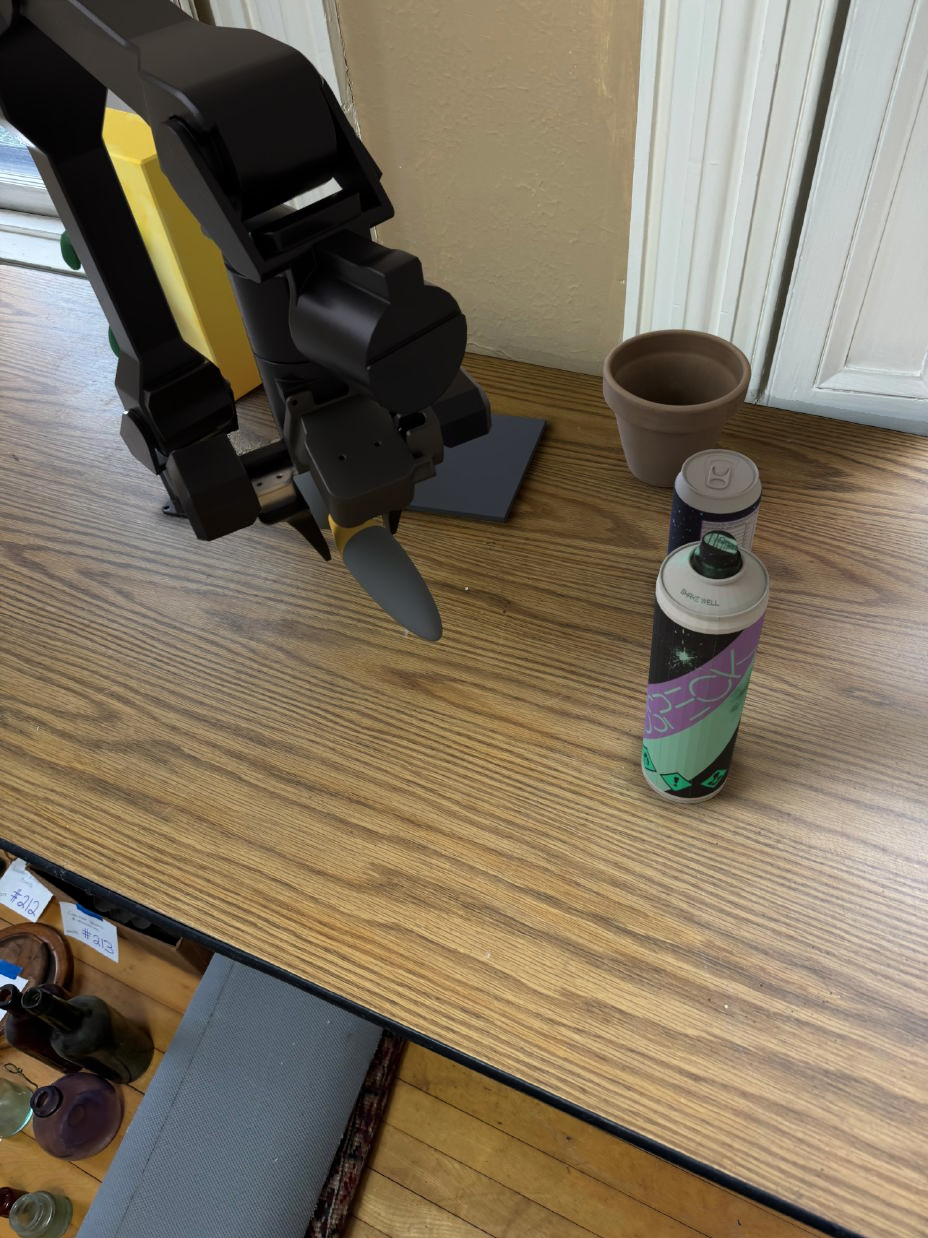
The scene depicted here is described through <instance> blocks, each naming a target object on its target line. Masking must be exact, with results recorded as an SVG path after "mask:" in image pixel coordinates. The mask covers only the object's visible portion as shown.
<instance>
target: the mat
mask: <svg viewBox="0 0 928 1238" xmlns="http://www.w3.org/2000/svg"><path fill="white" fill-rule="evenodd" d="M491 418H492V427H491V429H490V431H489V433H488V434H486V435H484V436H481V437H479V438H476V439H473V440H471V441H468V442H466V443H463V444H461V445H458V446H455V447H453V448H448V447H446V446H444V460H443V462H442V463H441V464H438V465H436V466H435V469H436V474H437V475H436V476H435V477H433V478H430V479H427V480H425V481H422V482H420V483H417V484H415V491H414V499H413V501H412V502H411V503H410V504H409V505H408V506H407V507H405V508H403V509H404V510H410V511H418V512H425V513H431V514H439V515H444V516H445V515H446V516H453V517H460V518H467V519H474V520H481V521H487V522H488V521H489V522H495V523H503V524H505V523H506V521H507V519H508V516H509V515H510V512H511V509H512V507H513V504H514V502H515V500H516V497H517V495H518V493H519V490H520V488H521V486H522V484H523V481H524V479H525V476H526V474H527V472H528V469H529V467H530V465H531V463H532V461H533V458H534V456H535V453H536V451H537V448H538V446H539V444H540V441H541V438H542V437H543V434H544V432H545V429H546V427H547V423H548V422H547V419H544V418H537V417H535V418H534V417H525V416H516V415H506V414H498V413H497V414H496V413H495V414H494V413H491Z"/></svg>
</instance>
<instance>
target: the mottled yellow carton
mask: <svg viewBox="0 0 928 1238" xmlns="http://www.w3.org/2000/svg"><path fill="white" fill-rule="evenodd" d="M103 139H104V142H105V145H106V147H107V150H108V152H109V155H110V157H111V160H112V162H113V165H114V168H115V170H116V173H117V175H118V178H119V180H120V183H121V185H122V188H123V190H124V193H125V195H126V198H127V200H128V203H129V205H130V208H131V210H132V213H133V215H134V218H135V220H136V223H137V225H138V228H139V230H140V233H141V235H142V238H143V240H144V243H145V245H146V248H147V250H148V253H149V255H150V258H151V260H152V263H153V265H154V268H155V270H156V273H157V275H158V278H159V281H160V283H161V286H162V288H163V291H164V293H165V296H166V298H167V301H168V303H169V306H170V308H171V311H172V313H173V316H174V318H175V321H176V323H177V326H178V328H179V331H180V333H181V335H182V338H183V340H184V341H185V342H187V343H188V344H189V345H191V346H192V347H193V348H195V349H196V350H197V351H199V352H200V353H201V354H203V355H204V356H205V357H207V358H208V359H209V360H211V361H212V362H213V363H214V364H215V365H216V366H217V367H218V368H219V369H220V371H221V374H222V376H223V377H224V378H225V379H228V380H229V381H230V383H231V389H232V390H233V392H234V398H235V402H236V401H237V400H239V399H241V398H242V397H244V396H245V395H247V394H248V393H249V392H251V391H253V390H254V389H255V388H257V387H258V386H260V385H263V384H262V381H261V378H260V375H259V371H258V368H257V365H256V362H255V359H254V356H253V353H252V350H251V346H250V343H249V340H248V337H247V334H246V331H245V328H244V324H243V321H242V318H241V315H240V312H239V309H238V306H237V303H236V299H235V296H234V293H233V290H232V287H231V284H230V281H229V278H228V274H227V271H226V268H225V265H224V260H223V258H222V254H221V250H220V249H219V248H218V246H217V245H216V244H215V243H214V241H212V240H211V239H209V238H207V237H206V236H204V234H203V233H202V231H201V228H200V223H199V222H198V221H197V219H196V218H195V217H194V216H193V214H192V213H191V212H190V210H189V209H188V208H187V207H186V205H185V204H184V203H183V201H182V200H181V199H180V198H179V196H178V195H177V193H176V192H175V190H174V189H173V187H172V186H171V184H170V182H169V180H168V178H167V177H166V176H165V175H164V174H163V172H162V171H161V169H160V165H159V161H158V156H157V152H156V148H155V144H154V140H153V135H152V131H151V128H150V126H149V125H148V124H147V123H146V122H145V121H144V120H143V119H142V118H141V117H140V116H139V115H138V114H137V113H131V112H129V111H124V110H120V109H116V108H111V107H107V106H106V111H105V119H104V126H103ZM59 246H60V253H61V257H62V259H63V261H64V262H65V264H66V265H67V266H68V267H69V268H70V269H71V270H72V271H80V269H81V268H82V264H81V262H80V260H79V258H78V256H77V254H76V251H75V249H74V247H73V245H72V243H71V241H70V239H69V236H68V234H67V232H66V230H65V229H64V231H63V232H62V233H61V235H60V238H59ZM107 337H108V343H109V346H110V348H111V351H112V352H113V354H114V355H115V356H116V357H117V359H118V358H119V351H120V347H119V345H118V342H117V340H116V338H115V336H114V334H113V332H112V329H111V327H110V325H109V324H108V331H107Z"/></svg>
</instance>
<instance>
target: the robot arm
mask: <svg viewBox="0 0 928 1238" xmlns="http://www.w3.org/2000/svg"><path fill="white" fill-rule="evenodd" d="M109 91H110V92H111V93H112V94H113V95H115V96H116V97H117V98H118V99H119V100H120V101H122V102H123V103H124V104H125V105H126V106H127V107H128V108H130V109H131V110H132V111H133V112H134V113H135V114H136V115H139V116H140V117H141V118H142V119H143V120H144V121H145V122H146V123H147V124H148V125H149V126H150V128H151V131H152V135H153V140H154V144H155V148H156V152H157V156H158V161H159V165H160V169H161V171H162V172H163V174H164V175H165V176H166V177H167V178H168V180H169V182H170V184H171V186H172V187H173V189H174V190H175V192H176V193H177V195H178V196H179V198H180V199H181V200H182V201H183V203H184V204H185V205H186V207H187V208H188V209H189V210H190V212H191V213H192V214H193V216H194V217H195V218H196V219H197V221H198V222H199V223H200V228H201V231H202V233H203V234H204V236H206V237H207V238H209V239H211V240H212V241H214V243H215V244H216V245H217V246H218V248H219V249H220V250H221V254H222V258H223V260H224V265H225V268H226V271H227V274H228V278H229V281H230V284H231V287H232V290H233V293H234V296H235V299H236V303H237V306H238V309H239V312H240V315H241V318H242V321H243V324H244V328H245V331H246V334H247V337H248V340H249V343H250V346H251V350H252V353H253V356H254V359H255V362H256V365H257V368H258V371H259V375H260V378H261V381H262V384H261V385H262V387H263V390H264V393H265V396H266V399H267V402H268V406H269V409H270V412H271V414H272V418H273V422H274V424H275V427H276V431H277V433H278V434H277V435H278V438H275V439H272V441H270V443H269V444H266V445H263V446H260V447H257V448H255V449H253V450H250V451H246V452H244V453H242V454H238V453H237V451H236V449H235V446H234V445H233V443H232V441H231V439H230V437H229V435H230V434H232V433H235V432H237V431H239V430H240V426H239V418H238V410H237V405H236V401H235V398H234V392H233V390H232V389H231V383H230V381H229V380H228V379H225V378H224V377H223V376H222V374H221V371H220V369H219V368H218V367H217V366H216V365H215V364H214V363H213V362H212V361H211V360H209V359H208V358H207V357H205V356H204V355H203V354H201V353H200V352H199V351H197V350H196V349H195V348H193V347H192V346H191V345H189V344H188V343H187V342H185V341H184V340H183V338H182V335H181V333H180V331H179V328H178V326H177V323H176V321H175V318H174V316H173V313H172V311H171V308H170V306H169V303H168V301H167V298H166V296H165V293H164V291H163V288H162V286H161V283H160V281H159V278H158V275H157V273H156V270H155V268H154V265H153V263H152V260H151V258H150V255H149V253H148V250H147V248H146V245H145V243H144V240H143V238H142V235H141V233H140V230H139V228H138V225H137V223H136V220H135V218H134V215H133V213H132V210H131V208H130V205H129V203H128V200H127V198H126V195H125V193H124V190H123V188H122V185H121V183H120V180H119V178H118V175H117V173H116V170H115V168H114V165H113V162H112V160H111V157H110V155H109V152H108V150H107V147H106V145H105V142H104V139H103V126H104V119H105V111H106V107H107V103H108V97H109V96H108V94H109ZM0 126H1V127H2V128H3V129H5V131H7V132H8V133H9V134H10V135H12V136H13V137H15V139H17V141H19V142H20V143H22V144H23V145H24V146H25V147H26V148H27V150H28V152H29V154H30V157H31V158H32V161H33V163H34V165H35V167H36V169H37V171H38V174H39V175H40V178H41V180H42V182H43V184H44V186H45V189H46V191H47V193H48V195H49V197H50V200H51V202H52V204H53V207H54V208H55V210H56V213H57V214H58V217H59V219H60V222H61V223H62V225H63V228H64V231H65V230H66V232H67V234H68V236H69V239H70V241H71V243H72V245H73V247H74V249H75V251H76V254H77V256H78V258H79V260H80V262H81V268H82V269H83V272H84V273H85V275H86V278H87V279H88V282H89V283H90V286H91V288H92V291H93V293H94V295H95V297H96V299H97V301H98V303H99V305H100V307H101V310H102V312H103V315H104V317H105V319H106V320H107V323H108V326H109V325H110V327H111V329H112V332H113V334H114V336H115V338H116V340H117V342H118V345H119V347H120V351H119V358H118V357H117V365H116V371H115V377H114V388H115V390H116V392H117V395H118V397H119V399H120V401H121V404H122V407H123V409H124V412H123V413H122V414H121V420H120V421H121V422H120V427H119V435H120V437H121V439H122V441H123V442H124V444H125V445H126V447H127V449H128V450H129V452H130V454H131V455H132V457H134V458H135V459H136V460H137V461H139V462H140V463H141V464H142V465H143V466H144V467H145V468H146V469H147V470H149V471H150V472H151V473H152V474H153V475H154V476H156V477H158V476H159V477H160V480H161V482H162V484H163V486H164V488H165V490H166V493H167V494H168V496H169V498H168V499H167V500H166V502H165V503H164V505H163V506H162V507H161V512H162V514H163V515H165V516H170V517H178V518H185V519H188V522H189V524H190V526H191V528H192V530H193V533H194V535H195V537H196V540H198V541H204V542H208V543H209V542H212V541H215V540H217V539H220V538H223V537H225V536H228V535H230V534H233V533H236V532H239V531H241V530H245V529H246V528H249V527H252V526H253V525H254V524H255V522H256V521H257V520H258V521H259V523H261V525H263V526H266V527H271V526H274V525H276V524H280V523H286V524H288V525H289V526H291V527H292V528H293V529H294V530H296V531H297V532H298V533H299V534H301V536H302V537H303V538H304V539H305V540H306V541H307V542H308V544H310V545H311V547H312V548H313V549H314V550H315V551H316V553H318V554H319V556H320V557H321V558H322V559H323V560H324V561H325V562H330V561H332V560H333V559H332V555H331V550H330V546H329V544H328V542H327V540H326V538H325V536H324V534H323V532H322V531H321V529H320V528H319V526H318V524H317V522H316V520H315V518H314V517H313V515H312V513H311V510H310V507H309V505H308V503H307V502H306V500H305V498H304V496H303V495H302V493H301V491H300V489H299V488H298V486H297V484H296V483H295V481H294V478H293V477H294V476H295V475H298V474H299V475H301V474H303V473H306V472H309V471H310V473H311V476H312V478H313V480H314V482H315V484H316V486H317V488H318V490H319V492H320V494H321V496H322V498H323V500H324V502H325V504H326V506H327V509H328V511H329V514H330V516H331V518H332V519H333V521H334V522H335V523H336V524H337V525H339V526H340V527H343V528H354V527H357V526H360V525H362V524H364V523H365V522H366V521H368V520H370V519H376V518H378V517H380V516H381V519H382V521H383V526H384V527H385V528H386V529H387V530H388V531H389V532H390V533H391V534H392V535H393V536H394V535H396V534H397V532H398V529H399V525H400V520H401V517H402V515H403V514H402V513H403V508H405V507H407V506H408V505H409V504H410V503H411V502H412V501H413V499H414V491H415V484H417V483H420V482H422V481H425V480H427V479H430V478H433V477H435V476H436V475H437V474H436V469H435V466H436V465H438V464H441V463H442V462H443V460H444V446H446V447H448V448H453V447H455V446H458V445H461V444H463V443H466V442H468V441H471V440H473V439H476V438H479V437H481V436H484V435H486V434H488V433H489V431H490V429H491V427H492V418H491V414H492V407H491V401H490V400H489V396H488V395H487V392H486V391H485V389H484V388H483V387H482V386H481V385H480V384H479V383H478V382H477V380H475V378H474V377H473V376H472V375H471V374H470V373H469V371H467V370H466V369H465V367H463V366H462V363H463V361H464V358H465V354H466V349H467V345H468V322H467V317H466V314H464V313H463V312H462V310H461V307H460V305H459V302H458V301H457V299H456V298H455V297H454V296H453V295H452V294H451V292H449V291H448V290H446V289H444V288H442V287H440V286H438V285H436V284H434V283H432V282H430V281H427V280H425V278H424V270H423V263H422V261H421V259H420V258H419V256H417V255H414V254H412V253H410V252H408V251H405V250H403V249H400V248H391V247H387V246H385V245H383V244H380V243H379V242H376V241H374V240H373V237H372V232H371V229H373V228H375V227H377V226H379V225H381V224H383V223H386V222H387V221H389V220H391V219H394V218H395V213H396V212H395V208H394V205H393V203H392V201H391V199H390V197H389V196H388V194H387V192H386V189H385V188H384V186H383V184H382V183H381V179H382V178H383V174H384V173H383V171H382V170H381V168H380V167H379V165H378V164H377V162H376V161H375V159H374V158H373V156H372V155H371V153H370V151H369V150H368V148H367V146H365V144H364V143H363V141H362V139H361V138H360V137H359V135H358V134H357V133H358V132H356V130H355V128H354V127H353V126H352V124H351V122H350V121H349V120H348V117H347V116H346V113H345V112H344V110H343V108H342V106H341V104H340V102H339V100H338V98H337V96H336V95H335V93H334V90H333V89H332V87H331V86H330V84H329V83H328V81H327V80H326V78H325V77H324V76H323V75H322V74H321V73H320V71H319V70H318V68H317V67H316V66H315V65H314V64H313V62H312V61H311V60H310V59H309V58H308V57H307V56H306V55H305V54H304V53H303V52H301V51H300V50H298V49H297V48H295V47H294V46H292V45H290V44H288V43H285V42H283V41H281V40H279V39H277V38H275V37H272V36H270V35H269V34H266V33H263V32H261V31H259V30H257V29H254V28H245V27H244V28H243V27H234V26H233V27H232V26H222V25H221V26H220V25H210V24H206V23H205V22H202V21H200V20H198V19H196V18H194V17H192V16H191V15H190V14H189V13H187V11H184V9H182V8H181V7H179V5H177V4H176V3H175V2H173V1H172V0H0ZM332 180H334V181H335V182H336V184H337V185H338V186H339V187H340V190H338V191H336V192H334V193H331V194H329V195H326V196H324V197H323V198H320V199H318V200H316V201H314V202H312V203H309V204H308V205H306V206H303V207H301V208H299V209H297V208H295V207H293V206H290V205H288V204H285V203H287V202H290V201H292V200H294V199H296V198H299V197H301V196H303V195H306V194H307V193H310V192H311V191H314V190H316V189H318V188H321V187H322V186H324V185H326V184H328V183H329V182H331V181H332Z"/></svg>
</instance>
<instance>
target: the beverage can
mask: <svg viewBox="0 0 928 1238" xmlns="http://www.w3.org/2000/svg"><path fill="white" fill-rule="evenodd" d="M672 488H673V490H672V498H671V500H672V501H671V508H670V509H671V510H670V511H671V512H670V520H669V522H670V523H669V531H668V541H667V552H666V557H667V556H668V555H669V554H670V553H671V552H672V551H674V550H676V549H677V548H679V547H681V546H683V545H686V544H688V543H693V542H697V541H702V537H703V536H704V535H705V534H706V533H708V532H710V531H714V530H722V531H726V532H729V533H730V534H732V535H733V536H734V537H735V539H736V541H737V544H738V546H740V547H742V548H744V549H747V550H748V551H750V552H751V553H752V547H753V542H754V538H755V533H756V527H757V524H758V523H757V522H758V517H759V511H760V506H761V502H762V496H763V484H762V481H761V479H760V472H759V469H758V466H757V465H756V463H755V462H754V461H753V460H752V459H751V458H749V457H748V456H746V455H745V454H743V453H740V452H738V451H735V450H730V449H722V448H714V449H712V450H706V451H702V452H699V453H696V454H694V455H693V456H691V457H689V458H688V459H687V460H686V461H685V463H684V464H683V466H682V469H681V472H680V473H679V474H678V476H677V477H676V479H675V482H674V487H672Z"/></svg>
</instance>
